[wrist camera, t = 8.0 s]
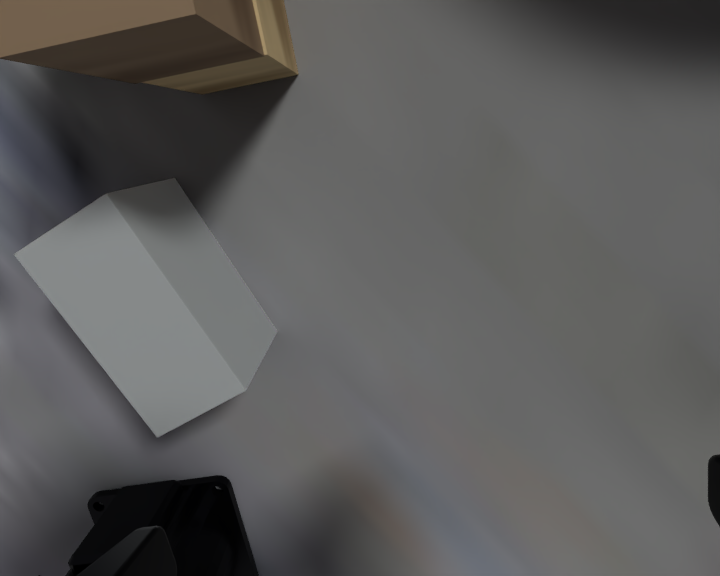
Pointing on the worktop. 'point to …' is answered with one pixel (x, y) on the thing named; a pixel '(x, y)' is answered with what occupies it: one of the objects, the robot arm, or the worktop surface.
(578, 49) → the worktop surface
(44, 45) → the walnut brick
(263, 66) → the oak brick
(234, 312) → the grey brick
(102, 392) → the worktop surface
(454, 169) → the worktop surface
